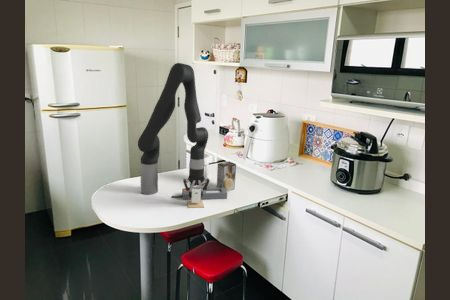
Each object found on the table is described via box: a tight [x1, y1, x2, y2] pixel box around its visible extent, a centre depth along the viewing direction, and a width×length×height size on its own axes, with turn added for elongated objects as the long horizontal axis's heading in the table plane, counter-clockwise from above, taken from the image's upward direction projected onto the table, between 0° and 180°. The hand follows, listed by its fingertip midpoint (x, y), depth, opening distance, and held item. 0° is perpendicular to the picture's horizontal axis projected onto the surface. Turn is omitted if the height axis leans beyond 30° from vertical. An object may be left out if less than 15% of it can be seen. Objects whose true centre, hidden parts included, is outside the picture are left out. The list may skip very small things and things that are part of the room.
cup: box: [202, 152, 211, 186], centre depth 198 cm, size 11×11×17 cm
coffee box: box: [216, 161, 237, 193], centre depth 189 cm, size 9×6×16 cm
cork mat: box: [186, 200, 205, 209], centre depth 170 cm, size 8×8×1 cm
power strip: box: [171, 187, 228, 201], centre depth 179 cm, size 30×8×4 cm, turn 102°
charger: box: [191, 186, 201, 203], centre depth 168 cm, size 5×5×7 cm
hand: (195, 197), depth 169 cm, fingers closed on charger, 4 cm apart
